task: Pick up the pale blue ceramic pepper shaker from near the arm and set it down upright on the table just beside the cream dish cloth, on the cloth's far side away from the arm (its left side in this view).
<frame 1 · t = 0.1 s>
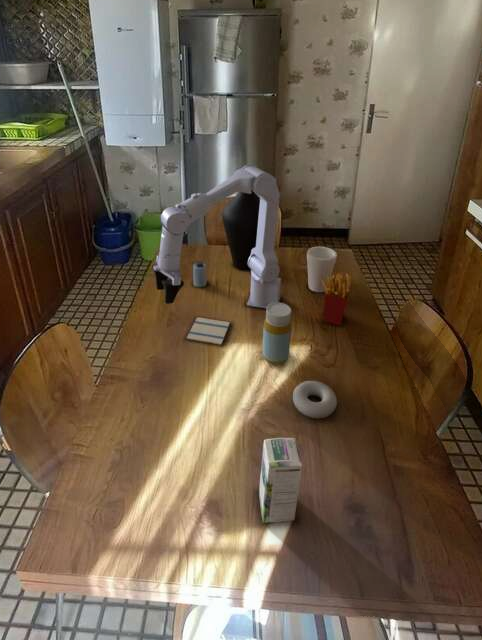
hand: (164, 295, 121), 11 cm above the table, tool pointing down, fingers open, 7 cm apart
french fries: (331, 317, 131), on the table
donut: (313, 404, 101), on the table
foam cup: (317, 287, 147), on the table
bottle: (275, 357, 115), on the table
pepper shaker: (200, 283, 148), on the table
vase: (244, 265, 160), on the table
syrup box: (276, 507, 79), on the table
dish cloth: (208, 331, 124), on the table
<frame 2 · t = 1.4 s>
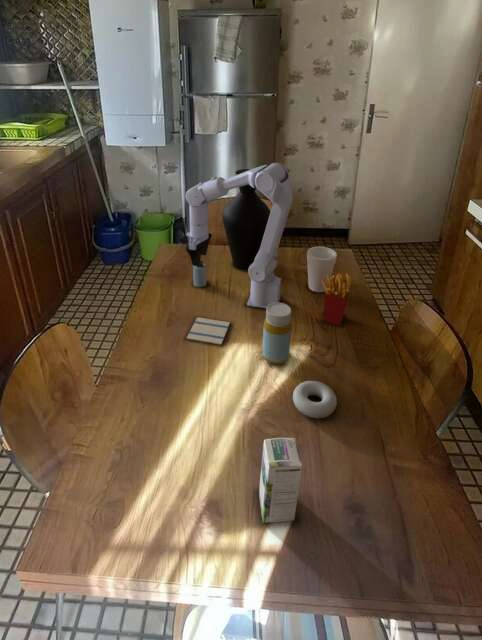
hand: (199, 259, 144), 9 cm above the table, tool pointing down, fingers open, 7 cm apart
nothing on the table moved.
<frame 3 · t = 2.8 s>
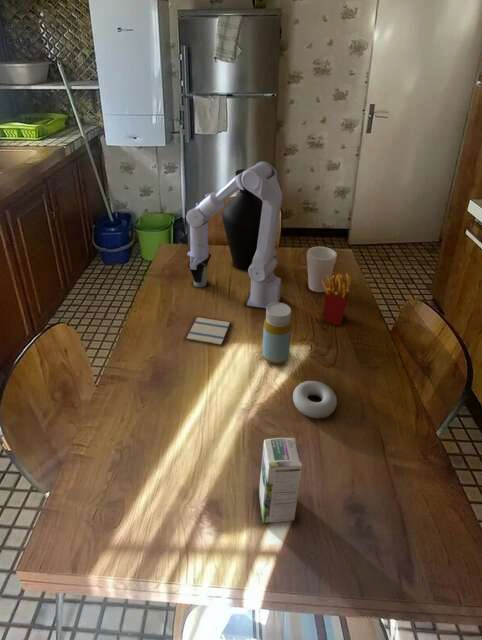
hand: (199, 278, 147), 2 cm above the table, tool pointing down, fingers closed on pepper shaker, 4 cm apart
pepper shaker: (200, 283, 147), on the table, touching gripper
everything else where it was.
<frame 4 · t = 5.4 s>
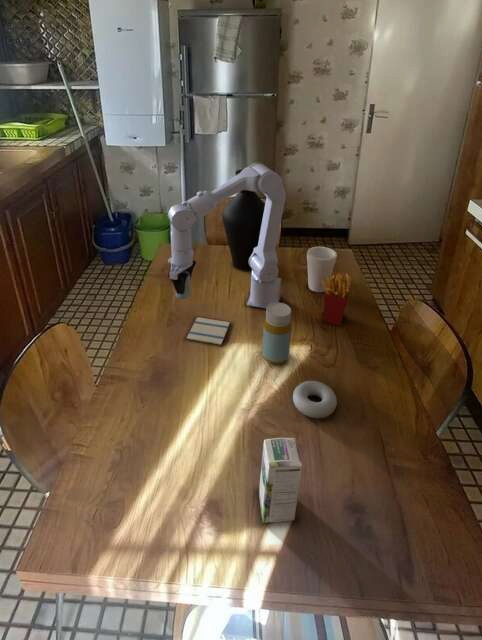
hand: (183, 288, 127), 9 cm above the table, tool pointing down, fingers closed on pepper shaker, 4 cm apart
pepper shaker: (183, 295, 128), point 7 cm above the table, touching gripper
everything else where it was.
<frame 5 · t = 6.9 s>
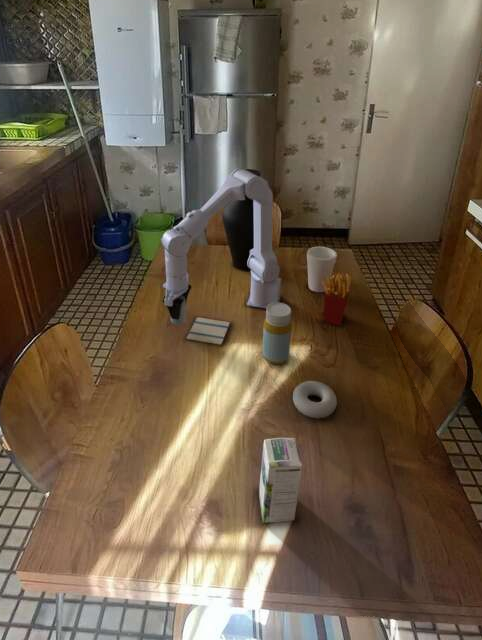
hand: (178, 313, 124), 4 cm above the table, tool pointing down, fingers closed on pepper shaker, 4 cm apart
pepper shaker: (178, 319, 125), point 2 cm above the table, touching gripper
everything else where it was.
when the fingers open (2 cm above the table, at t = 8.1 s): pepper shaker stays where it is, on the table.
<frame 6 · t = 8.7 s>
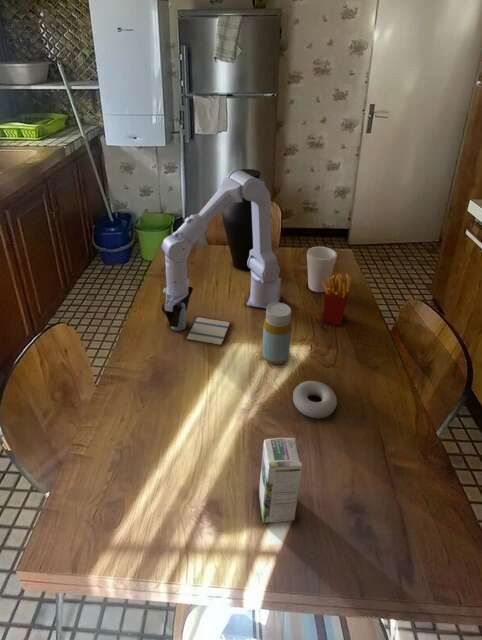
hand: (178, 318, 125), 3 cm above the table, tool pointing down, fingers open, 7 cm apart
pepper shaker: (178, 326, 126), on the table
everything else where it was.
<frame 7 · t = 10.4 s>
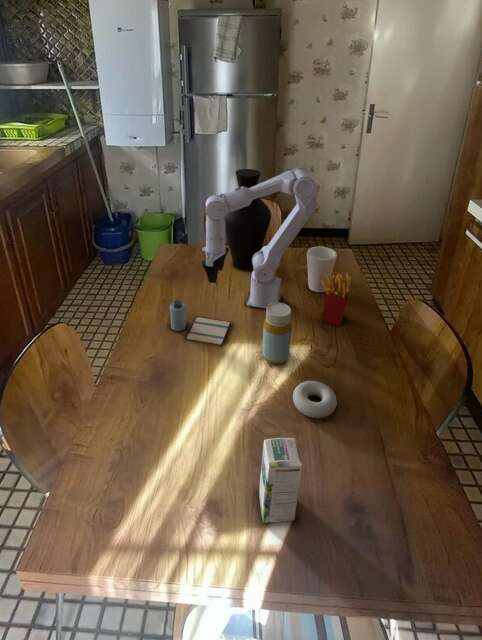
hand: (215, 275, 134), 9 cm above the table, tool pointing down, fingers open, 7 cm apart
nothing on the table moved.
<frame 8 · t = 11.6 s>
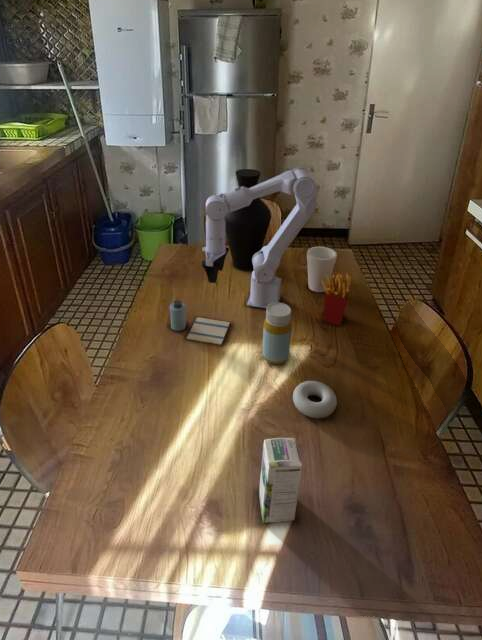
hand: (215, 275, 134), 9 cm above the table, tool pointing down, fingers open, 7 cm apart
nothing on the table moved.
at the end: pepper shaker inside the target area on the table beside the dish cloth (1.3 cm from its centre), on the table; pepper shaker tilted 0°; the gripper is holding nothing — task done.
